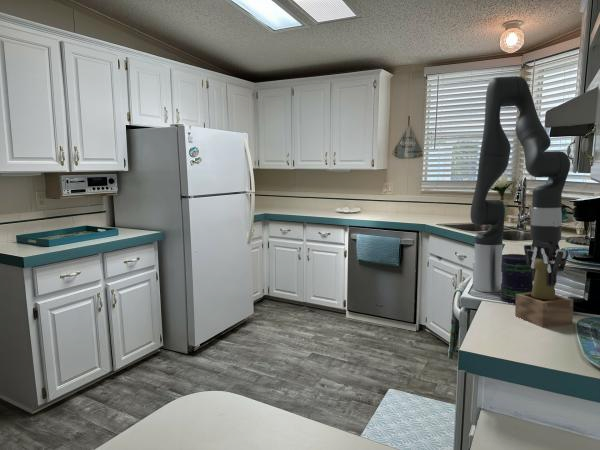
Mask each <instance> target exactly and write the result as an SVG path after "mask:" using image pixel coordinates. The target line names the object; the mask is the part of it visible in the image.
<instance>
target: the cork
mask: <svg viewBox="0 0 600 450" xmlns="http://www.w3.org/2000/svg"><path fill="white" fill-rule="evenodd" d="M549 261H553V259H552V260H549ZM551 266H552V268H553V267H554V264H551ZM534 268H535V269H536V272H535V277H534V281H533V289H532V294H531V296H532V297H534V298H539V299H555V298H556V296H555V294H556V288H555V286H548V285H547V273H548V270H547V265H546V264H545V263H544V259H540V258H538V259H536V260H535V261H534Z"/></svg>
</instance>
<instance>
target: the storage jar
mask: <svg viewBox="0 0 600 450" xmlns="http://www.w3.org/2000/svg"><path fill="white" fill-rule="evenodd" d="M530 261H532V258H531V257H530ZM501 272H502V283H501V291H500V301H501V302H504V303H506V302H508V303H507V304H510V303H514V304H513V305H515V304H516V294H521V293H531V292H532V289H533V283H534V281H533V278H532V268H531V266H530V265H527V263H526V257H525V254H521V253H507V254H502V263H501Z"/></svg>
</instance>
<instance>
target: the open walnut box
mask: <svg viewBox="0 0 600 450" xmlns="http://www.w3.org/2000/svg"><path fill="white" fill-rule="evenodd" d="M531 294H532V292H531V293H521V294H516V304H514V305H515V308H514V309H515V310H514V311H515V312H514V314H515V316H516V317H515V316H514V317H515V318H517V317H518V318H517V319H520V318H521V319H520V320H522V319H523V321H524V322H525V321H526V322H527V321H528V323H530V324H533V325H535V326H537V327H540V328H542V329H544V328H549V327H558V326H566V325H567V326H568V325H573V319H574V317H573V316H574V299H572V298H568V297H564V296H562V295H559V294H556V295H555V296H556V298H555V299H539V298H534V297H532V296H531Z"/></svg>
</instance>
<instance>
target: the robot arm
mask: <svg viewBox="0 0 600 450" xmlns="http://www.w3.org/2000/svg"><path fill="white" fill-rule="evenodd" d="M484 107H485V108H484V124H483V134H482V138H481V139H482V140H481V141H482V142H481V145H480V151H479V159H478V166H477V167H478V169H477V177H476V183H475V187H474V188H475V189H474V192H473V196H472V201H471V204H470V205H471V207H470V215H469V216H470V220H471V223H472V224H474V225H475V226H490V227H489V228H488V229H487V230H485V231H483V232H481V233H479V234H476V235H475V236H474V262H473V263H472V288H473V289H474V290H475V291H477V292H480V293H481V292H482V293H499V292H500V291H501V283H502V272H501V263H502V255H503V242H504V241H503V239H504V232H505V231H504V230H505V220H506V219H505V217H506V207H505V204H504V201H502V199H487V197H488V194H489V191H490V190H491V189H492V186H494V184H495V183H496V182H497V181H498V180H499V179H500V177H501V176H502V175H503V174H505V171H506V170H507V169H508V165H509V161H510V157H511V156H510V155H511V148H512V147H511V144H510V143H511V142H510V141H509V139H508V137H507V134H506V132H505V131H504V129H503V126H502V124H501V108H507V107H508V108H509V107H516V109H517V111H519V116H518V118H517V122H516V125H515V134H516V137H517V139H518V141H519V143H520V145H521V147H522V149H523V154H524V162H525V163H524V165H525V170H526V172H527V173H528V174H529V176H531V177H533V178H547V181H546V182H545V184H543V185H540V186H536V187H534V188H533V190H532V197H531V198H532V199H531V200H532V201H531V202H532V203H531V212H530V225H529V226H530V228H529V229H530V232H529V233H530V234H529V239H530V240H531V241H532V243H531V244H524V245H523V249H524V255H525V257H526V263H527V265H530V266H531V268H532V278H533V282H534V277H535V272H536V269H535V268H534V261H535V260H536V259H538V258H540V259H544V263H545V264H546V265H547V270H548V273H547V285H548V286H554V287H555V286H556V284H557V276H558V275H557V274H558V272H564V270H565V267H566V264H567V260H568V257H569V251H568V250H562V249H560V244H559V242H560V241H561V240H562V229H563V228H562V225H563V223H562V222H563V220H562V219H563V213H562V200H563V199H562V193H563V191H564V187H565V184H566V181H567V178H568V176H569V174H570V173H569V172H570V169H571V160H570V157H569V156H568V154H567V153H566V152H564V151H558V150H556V151H555V150H554V151H547V150H548V149H549V148H550V146H551V144H552V143H551V142H552V141H551V138H550V136H549V134H548V132H547V130H546V129H545V127H544V126H543V124H542V121H541V119H540V118H539V115H538V113H537V109H536V106H535V103H534V99H533V95H532V93H531V89H530V86H529V84H528V82H527V80H526V78H524V77H523V76H519V75H514V76H499V77H492V78H491V80H490V81H489V82H488V85H487V88H486V94H485V106H484ZM530 257H531V258H532V261H530ZM549 260H553V261H549ZM551 264H554V267H553V268H552V266H551ZM500 293H501V292H500Z"/></svg>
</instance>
